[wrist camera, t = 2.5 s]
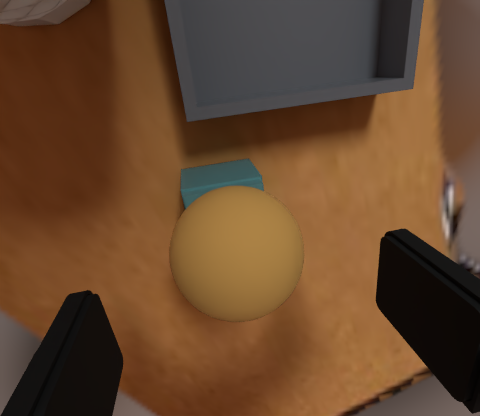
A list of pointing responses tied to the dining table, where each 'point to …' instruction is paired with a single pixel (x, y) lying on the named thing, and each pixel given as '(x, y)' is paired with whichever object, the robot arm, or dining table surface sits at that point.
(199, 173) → the block
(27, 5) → the white cup
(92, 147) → the dining table surface
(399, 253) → the robot arm
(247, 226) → the ball
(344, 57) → the tray
